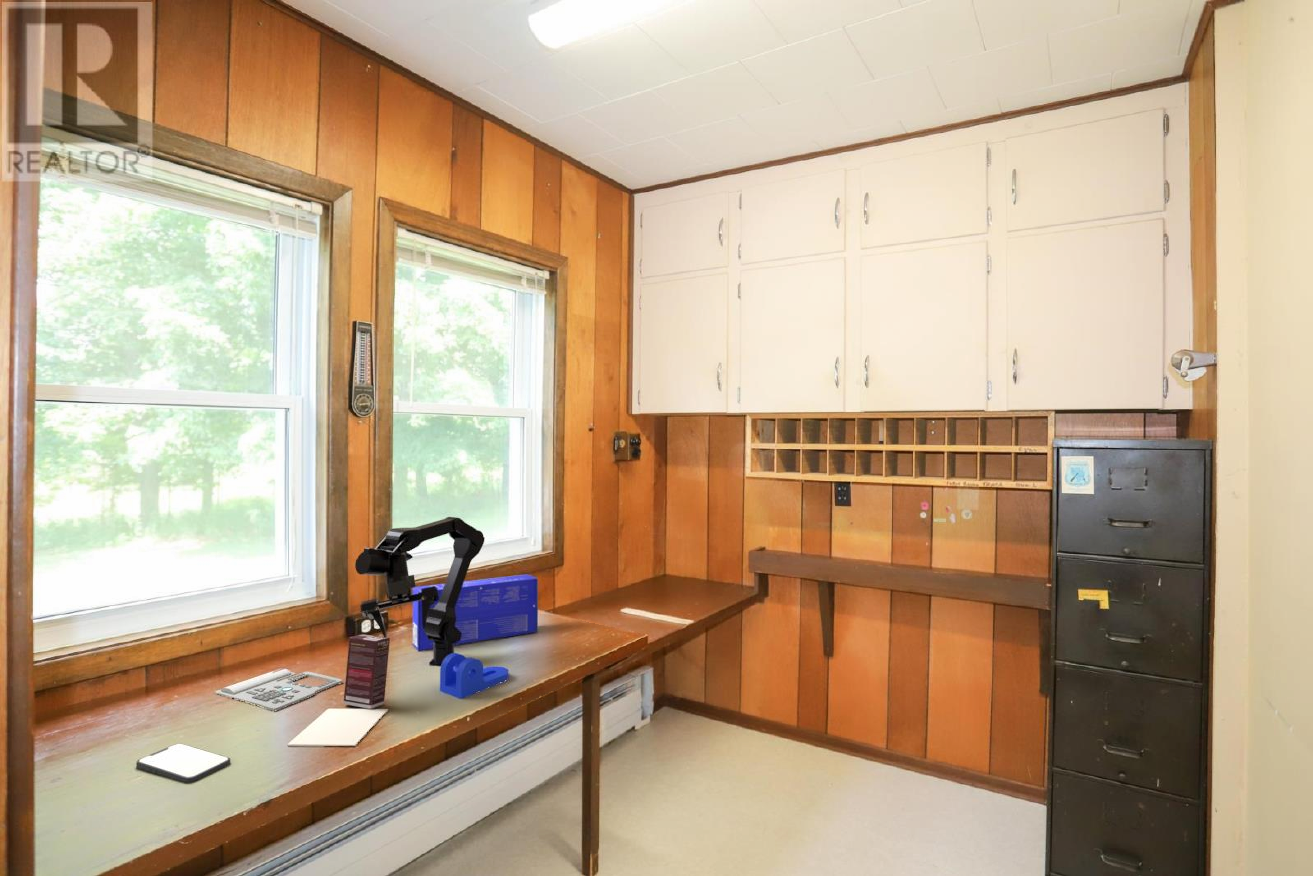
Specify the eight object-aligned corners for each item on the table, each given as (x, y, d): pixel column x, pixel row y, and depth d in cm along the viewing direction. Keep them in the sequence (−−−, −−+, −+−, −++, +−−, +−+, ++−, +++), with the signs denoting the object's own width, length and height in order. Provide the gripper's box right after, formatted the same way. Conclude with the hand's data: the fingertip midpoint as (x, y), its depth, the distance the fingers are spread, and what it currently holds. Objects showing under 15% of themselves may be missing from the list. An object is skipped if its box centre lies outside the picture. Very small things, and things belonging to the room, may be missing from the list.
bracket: (461, 699, 164) (461, 663, 164) (439, 691, 168) (440, 656, 168) (514, 678, 178) (515, 645, 178) (494, 671, 183) (494, 639, 183)
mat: (328, 710, 155) (328, 708, 155) (387, 710, 156) (387, 709, 156) (287, 746, 137) (287, 744, 137) (354, 746, 138) (355, 744, 138)
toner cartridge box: (528, 627, 226) (529, 573, 226) (538, 633, 219) (539, 578, 219) (410, 644, 205) (411, 585, 205) (417, 652, 198) (418, 591, 198)
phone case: (233, 766, 130) (179, 749, 136) (234, 758, 130) (179, 741, 136) (188, 788, 122) (132, 769, 128) (188, 779, 122) (132, 761, 128)
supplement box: (385, 704, 159) (391, 637, 161) (370, 710, 155) (377, 641, 156) (356, 699, 162) (363, 633, 164) (341, 704, 158) (348, 636, 159)
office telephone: (212, 686, 164) (287, 662, 182) (212, 697, 164) (287, 671, 182) (274, 703, 154) (346, 675, 172) (274, 714, 154) (346, 685, 172)
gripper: (354, 574, 164) (361, 636, 157) (432, 558, 170) (442, 617, 164) (360, 586, 173) (367, 645, 167) (434, 571, 180) (443, 627, 173)
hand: (405, 634), depth 168 cm, fingers open, 9 cm apart
